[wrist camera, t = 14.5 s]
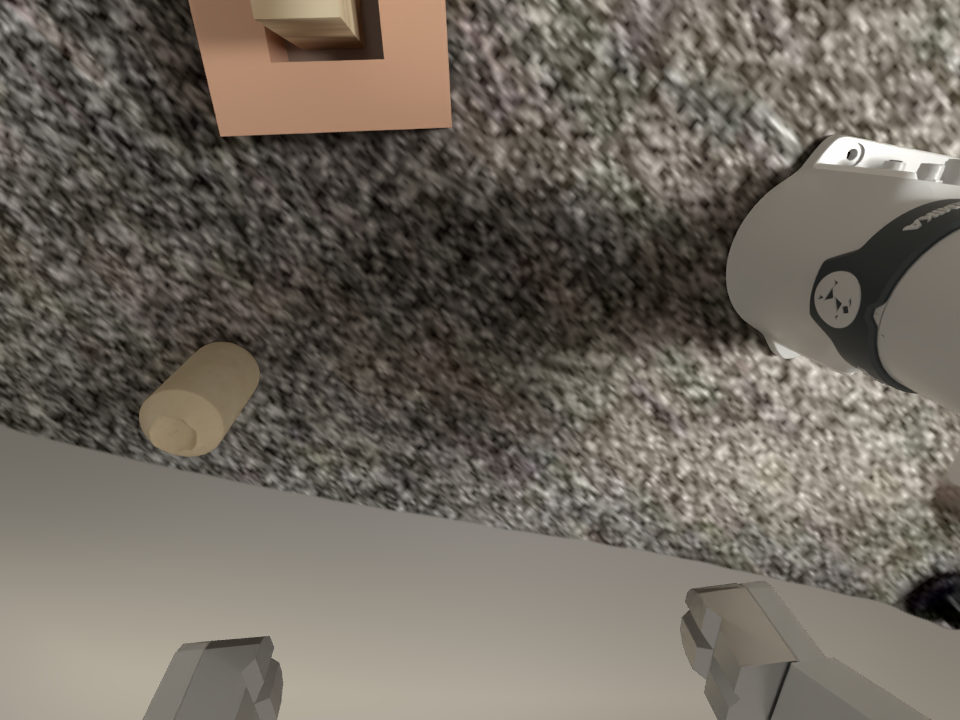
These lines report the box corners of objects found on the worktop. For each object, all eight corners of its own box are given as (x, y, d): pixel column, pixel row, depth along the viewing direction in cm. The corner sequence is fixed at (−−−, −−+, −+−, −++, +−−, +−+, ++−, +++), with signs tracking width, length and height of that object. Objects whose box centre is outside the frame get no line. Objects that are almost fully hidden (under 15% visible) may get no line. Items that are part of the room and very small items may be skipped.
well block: (434, -129, 30) (435, -180, 25) (448, 127, 36) (451, 127, 31) (194, -128, 29) (145, -181, 24) (250, 135, 35) (220, 136, 30)
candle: (216, 327, 40) (155, 384, 31) (274, 368, 42) (232, 432, 33) (179, 372, 42) (110, 439, 33) (236, 409, 44) (186, 482, 35)
